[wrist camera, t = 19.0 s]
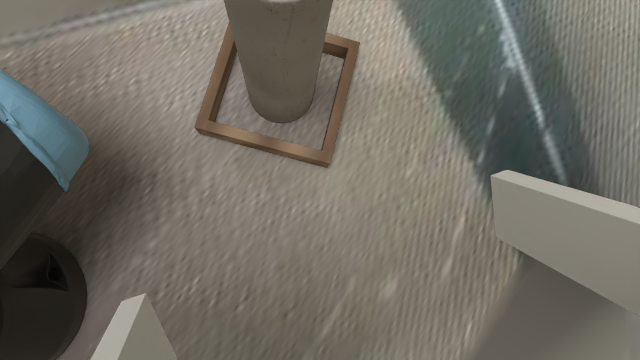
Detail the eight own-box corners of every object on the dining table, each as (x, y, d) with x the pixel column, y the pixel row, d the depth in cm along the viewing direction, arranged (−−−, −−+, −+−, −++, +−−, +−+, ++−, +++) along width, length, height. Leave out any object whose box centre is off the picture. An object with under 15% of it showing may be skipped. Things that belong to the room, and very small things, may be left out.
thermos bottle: (278, 50, 43) (265, -272, 16) (325, 90, 43) (398, -164, 15) (235, 94, 42) (138, -175, 14) (284, 136, 41) (284, -55, 14)
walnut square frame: (199, 133, 40) (194, 127, 38) (237, 18, 43) (234, 5, 41) (327, 167, 41) (329, 163, 39) (355, 53, 44) (360, 42, 42)
